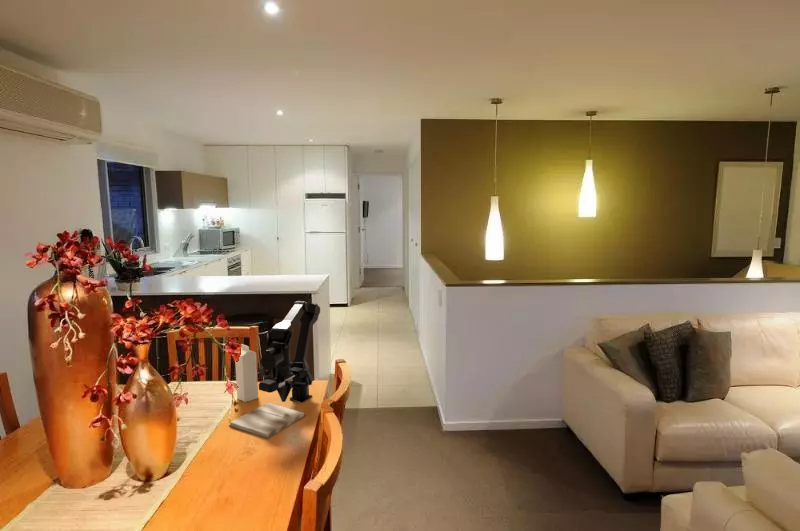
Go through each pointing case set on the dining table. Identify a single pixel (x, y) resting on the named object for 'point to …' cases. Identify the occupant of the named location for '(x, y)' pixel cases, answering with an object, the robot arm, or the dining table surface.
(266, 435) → the laid planks
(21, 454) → the dining table surface
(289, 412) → the loose plank
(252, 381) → the milk
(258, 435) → the underlay mat
